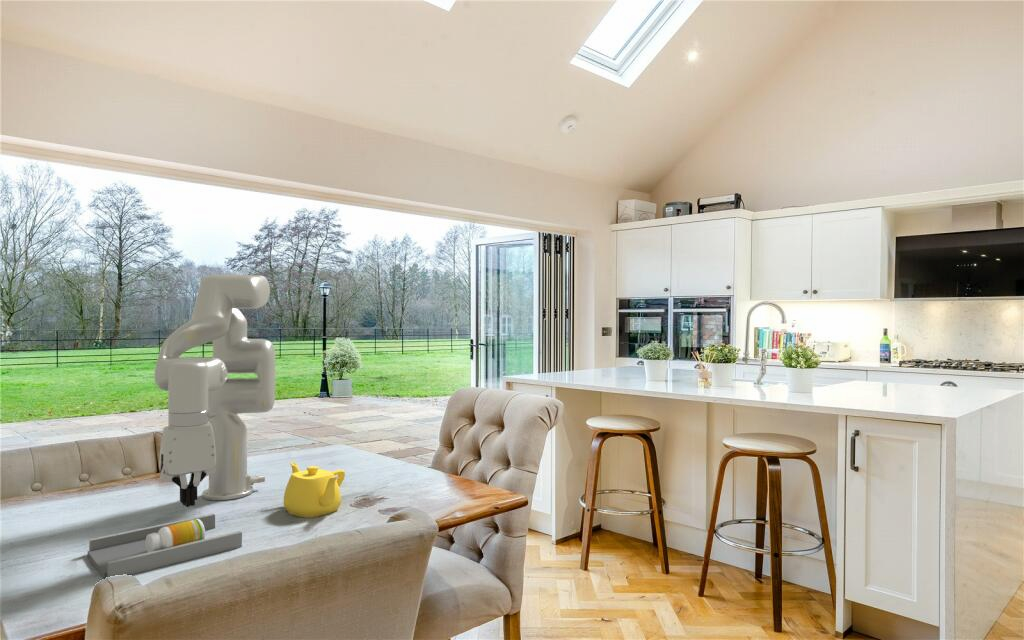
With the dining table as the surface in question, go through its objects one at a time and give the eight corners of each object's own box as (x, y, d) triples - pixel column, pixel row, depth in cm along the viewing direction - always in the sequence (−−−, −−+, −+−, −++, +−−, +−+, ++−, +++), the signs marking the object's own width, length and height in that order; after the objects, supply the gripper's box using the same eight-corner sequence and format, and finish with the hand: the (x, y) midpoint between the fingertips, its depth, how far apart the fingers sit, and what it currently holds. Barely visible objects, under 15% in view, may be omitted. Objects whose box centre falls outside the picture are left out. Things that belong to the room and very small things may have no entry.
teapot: (368, 510, 154) (368, 467, 154) (312, 525, 143) (312, 479, 143) (321, 493, 169) (322, 454, 169) (267, 506, 158) (267, 464, 158)
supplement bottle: (197, 512, 129) (147, 524, 121) (208, 530, 126) (156, 544, 118) (192, 532, 130) (141, 545, 123) (202, 550, 127) (151, 564, 120)
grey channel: (213, 526, 142) (213, 513, 142) (241, 546, 130) (242, 532, 130) (86, 554, 125) (86, 539, 125) (105, 580, 112) (105, 564, 112)
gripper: (219, 413, 138) (218, 494, 138) (143, 421, 128) (143, 508, 128) (231, 417, 133) (231, 501, 133) (154, 426, 122) (154, 517, 123)
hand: (188, 504), depth 130 cm, fingers closed
